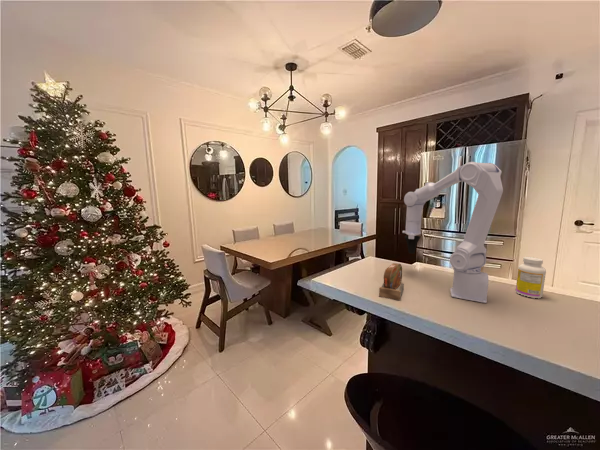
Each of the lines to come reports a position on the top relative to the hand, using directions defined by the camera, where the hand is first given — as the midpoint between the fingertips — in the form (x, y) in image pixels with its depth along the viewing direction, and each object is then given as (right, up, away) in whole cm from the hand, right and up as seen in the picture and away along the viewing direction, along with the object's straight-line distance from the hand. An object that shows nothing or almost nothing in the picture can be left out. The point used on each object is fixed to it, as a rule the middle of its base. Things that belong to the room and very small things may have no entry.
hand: (411, 253), depth 100 cm
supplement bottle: (+31, -12, -19) cm, 38 cm away
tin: (-13, -12, -12) cm, 21 cm away
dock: (-15, -12, -17) cm, 25 cm away
